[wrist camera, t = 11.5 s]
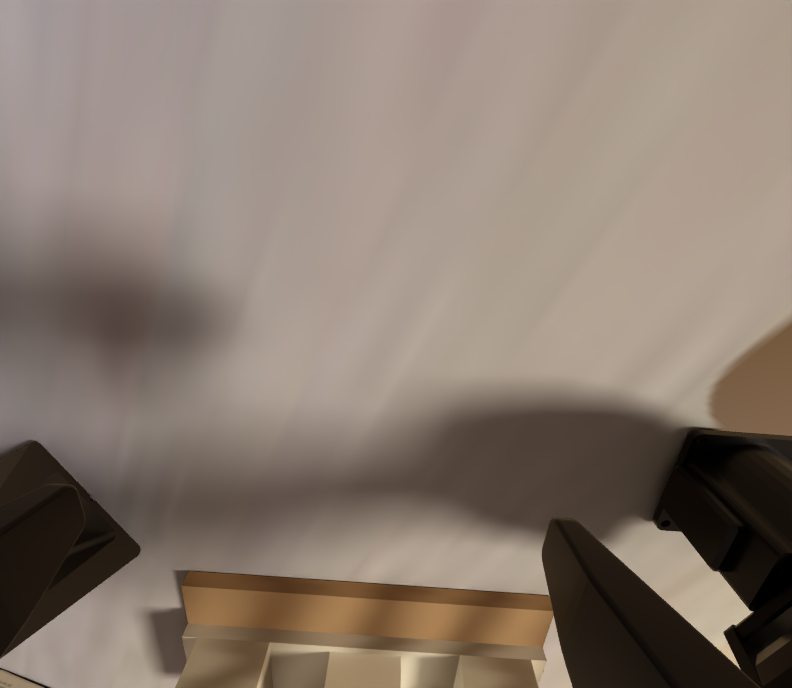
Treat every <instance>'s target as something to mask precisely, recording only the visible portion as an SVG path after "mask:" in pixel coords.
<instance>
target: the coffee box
mask: <svg viewBox="0 0 792 688" xmlns="http://www.w3.org/2000/svg"><path fill="white" fill-rule="evenodd" d="M0 688H44V687H42V686H40V685H37V684H35V683H32V682H30V681H28V680H25V679H23V678H20V677H18V676H16V675H14V674H11V673H9V672H7V671H4V670H0Z"/></svg>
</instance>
